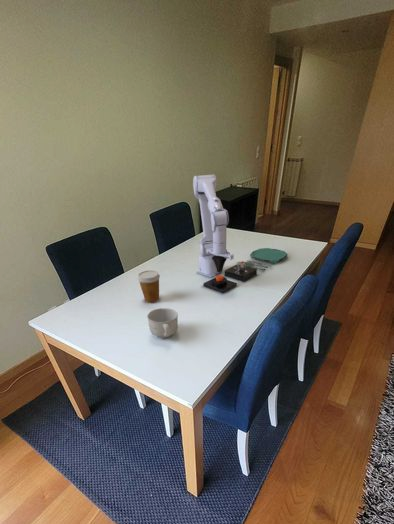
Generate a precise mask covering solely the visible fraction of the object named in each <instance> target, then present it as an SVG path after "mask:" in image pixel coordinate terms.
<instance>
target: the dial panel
mask: <svg viewBox="0 0 394 524" xmlns="http://www.w3.org/2000/svg"><path fill="white" fill-rule="evenodd" d="M223 273H224V274H223V276H224V277H225V278H230V279H233V280H236V281H239V282H242V283H244V282H246V281H248V280H249V279H252V278H253V277H255V276H257V275H258V269H255V268H251V267H247V266H245V270H244V271H237V264H234V265H233V266H231V267H228V268H226V269H225V270H223Z"/></svg>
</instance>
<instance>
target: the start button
mask: <svg viewBox="0 0 394 524" xmlns="http://www.w3.org/2000/svg"><path fill="white" fill-rule="evenodd" d="M215 277H216V281H223V280H224V277H225V276H224V274H223V275H222V274H217V275H215Z"/></svg>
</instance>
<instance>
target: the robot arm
mask: <svg viewBox="0 0 394 524" xmlns="http://www.w3.org/2000/svg"><path fill="white" fill-rule="evenodd" d="M217 183H218V179H217V177H216V175H215V174H214V173H212V174H204V175H194V176H193V179H192V187H193V195H194V198H196V199H197V200H198V202H199V203H198V204H199V208H200V216H201V225H202V232H203V233H202V234H203V236H202V237H201V238H200V239H199V241H198V251H199V252H198V253H199V257H198V271H197V274H201V275H203V276H206V277H209V278H212V277H213V278H214V277H216V276H217V275H220V274H221V273H222V272H223V271H224V270H223V269H224V267H225V263H226V261H227V259H228V260H229V261H232V260H234V257H235V255H234V254H233V253H231V252H229V251H228V249H227V226H228V225H229V221H230V219H229V218H230V217H229V212H228V210H227V209H226V208H224V206H223V204H222V201H221V199H220V198H219V197H217V194H216V190H217V187H218V186H217V185H218V184H217Z"/></svg>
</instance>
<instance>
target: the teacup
mask: <svg viewBox="0 0 394 524" xmlns="http://www.w3.org/2000/svg"><path fill="white" fill-rule="evenodd" d="M178 317H179V314H178V312H177V311H176V310H175V309H172V308H170V307H169V308H168V307H162V308H161V307H160V308H155V309H152V310H151V311H149V312H148V313H147V316H146V318H147V323H148V328H149V331H150V333H151V334H152V335H153V336H156V337H157V338H168V337H171V336H172V335H174V334H175V333H176V332H177V330H178V326H179V325H178V322H179V321H178Z"/></svg>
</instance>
